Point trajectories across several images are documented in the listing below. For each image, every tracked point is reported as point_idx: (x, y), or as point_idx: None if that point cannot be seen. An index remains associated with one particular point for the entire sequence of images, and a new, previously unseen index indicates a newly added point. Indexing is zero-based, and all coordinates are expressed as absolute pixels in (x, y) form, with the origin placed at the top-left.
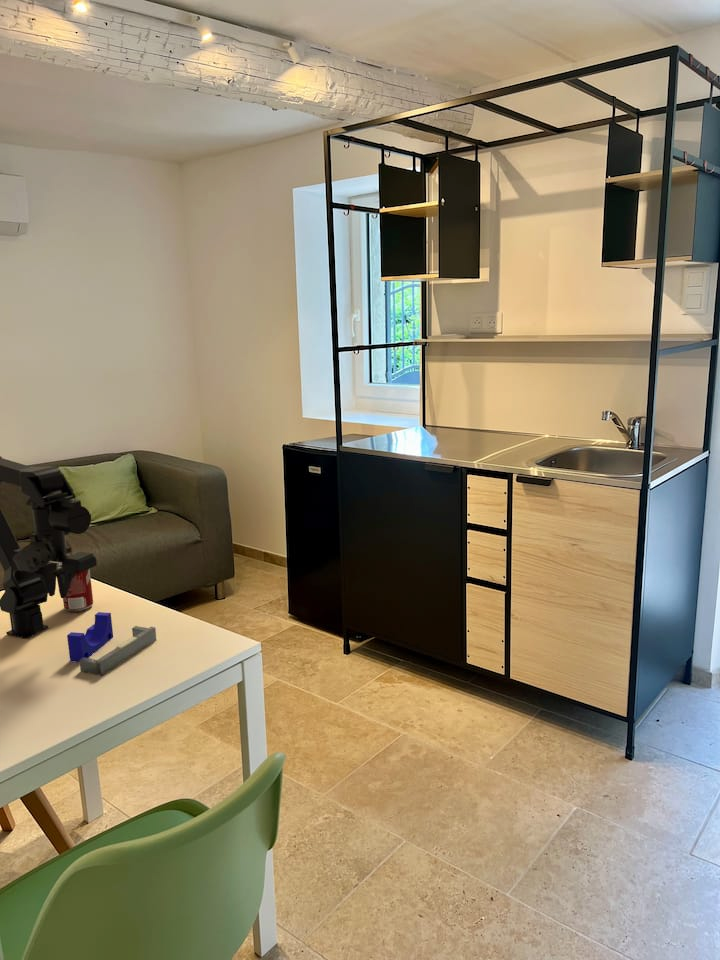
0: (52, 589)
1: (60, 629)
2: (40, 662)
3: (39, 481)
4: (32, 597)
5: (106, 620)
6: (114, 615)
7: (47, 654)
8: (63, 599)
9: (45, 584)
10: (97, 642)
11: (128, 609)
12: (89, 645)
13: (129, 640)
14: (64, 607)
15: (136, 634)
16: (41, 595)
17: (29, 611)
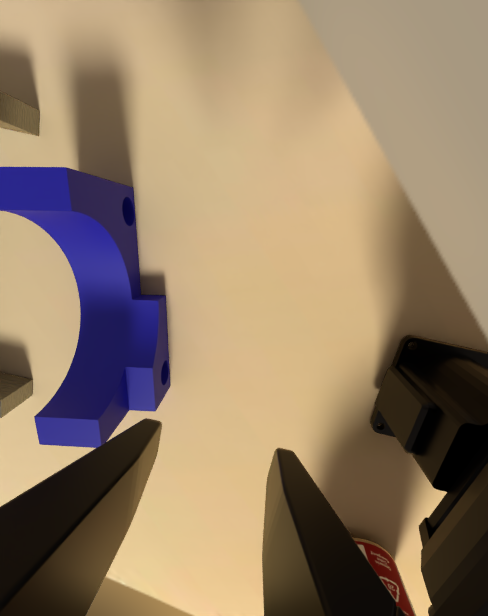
0: (272, 518)
1: (321, 419)
2: (240, 158)
3: None
4: (484, 487)
5: (53, 400)
6: (197, 521)
7: (253, 228)
8: (399, 588)
9: (333, 563)
10: (88, 306)
11: (178, 558)
12: (59, 241)
13: None
14: (386, 553)
15: (2, 384)
16: (441, 531)
17: (457, 421)
